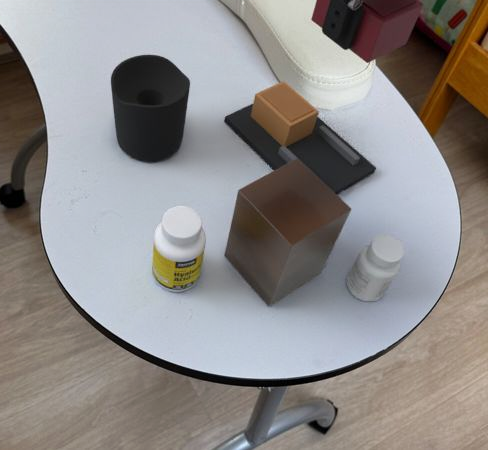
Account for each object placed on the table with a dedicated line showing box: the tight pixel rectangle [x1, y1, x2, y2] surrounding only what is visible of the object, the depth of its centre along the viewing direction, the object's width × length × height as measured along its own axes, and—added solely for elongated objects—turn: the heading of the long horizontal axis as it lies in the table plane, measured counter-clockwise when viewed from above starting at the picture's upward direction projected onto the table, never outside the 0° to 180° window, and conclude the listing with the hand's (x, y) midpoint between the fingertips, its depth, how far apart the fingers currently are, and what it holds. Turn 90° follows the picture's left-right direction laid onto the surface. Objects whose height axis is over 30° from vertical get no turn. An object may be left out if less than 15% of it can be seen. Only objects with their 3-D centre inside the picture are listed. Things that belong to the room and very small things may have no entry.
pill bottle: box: [346, 233, 405, 302], centre depth 63 cm, size 4×4×8 cm
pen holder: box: [110, 54, 191, 163], centre depth 74 cm, size 9×9×10 cm
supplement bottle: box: [151, 205, 207, 293], centre depth 62 cm, size 5×5×10 cm
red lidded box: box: [310, 0, 424, 64], centre depth 50 cm, size 7×5×4 cm
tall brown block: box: [224, 158, 353, 308], centre depth 62 cm, size 8×8×12 cm
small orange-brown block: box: [251, 80, 320, 147], centre depth 78 cm, size 7×5×4 cm
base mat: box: [224, 103, 377, 196], centre depth 78 cm, size 18×11×2 cm, turn 36°
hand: (359, 27), depth 52 cm, fingers closed on red lidded box, 5 cm apart
